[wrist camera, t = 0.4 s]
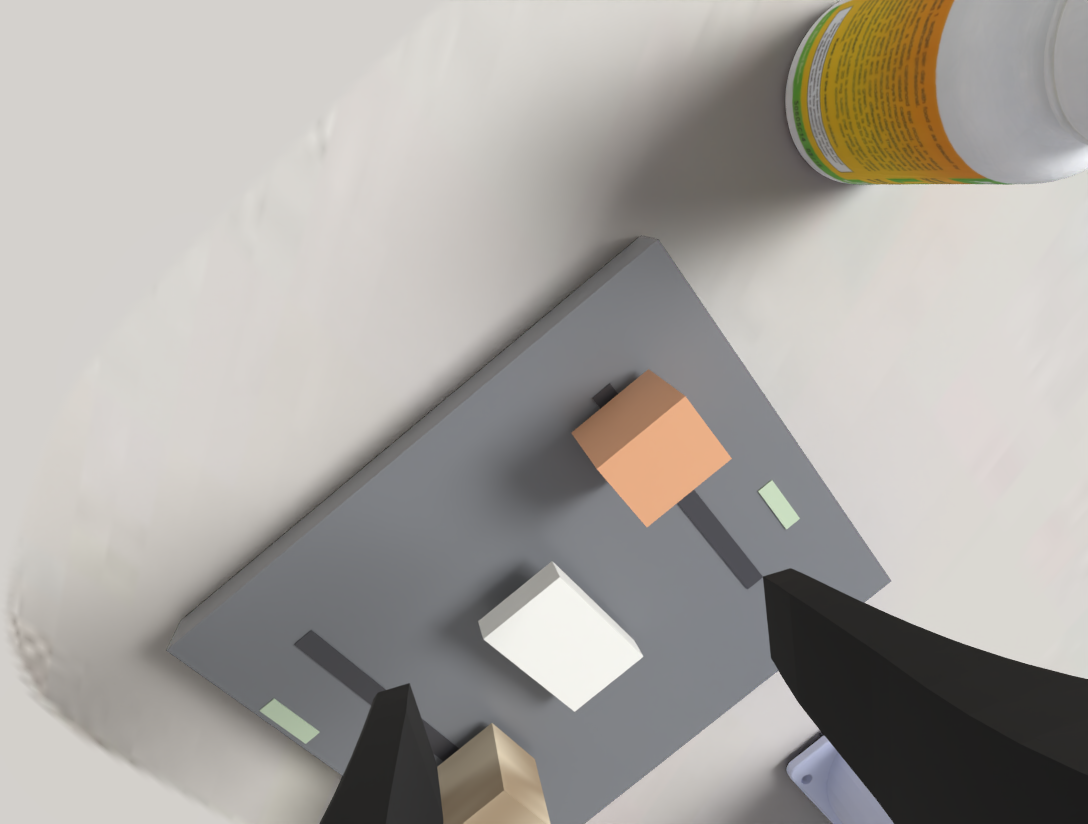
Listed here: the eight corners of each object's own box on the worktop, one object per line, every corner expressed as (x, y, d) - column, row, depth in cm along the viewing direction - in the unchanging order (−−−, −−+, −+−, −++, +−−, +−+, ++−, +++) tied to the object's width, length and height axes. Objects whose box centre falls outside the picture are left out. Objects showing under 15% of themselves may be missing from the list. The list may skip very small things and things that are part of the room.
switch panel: (865, 560, 27) (898, 586, 25) (496, 853, 28) (503, 899, 26) (640, 235, 21) (663, 240, 19) (180, 620, 22) (161, 659, 20)
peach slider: (690, 425, 21) (731, 458, 19) (616, 485, 21) (646, 527, 19) (648, 368, 20) (685, 396, 18) (571, 432, 21) (596, 469, 18)
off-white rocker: (634, 640, 24) (643, 656, 23) (567, 693, 24) (574, 711, 23) (552, 561, 21) (560, 577, 20) (477, 621, 21) (483, 639, 21)
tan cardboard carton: (534, 759, 24) (551, 828, 22) (449, 827, 24) (455, 904, 22) (491, 722, 23) (504, 790, 21) (402, 794, 24) (404, 870, 21)
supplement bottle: (814, 216, 22) (1104, 240, 13) (753, 49, 20) (1048, -59, 11) (955, 131, 22) (1343, 95, 13) (910, -44, 20) (1330, -228, 11)
